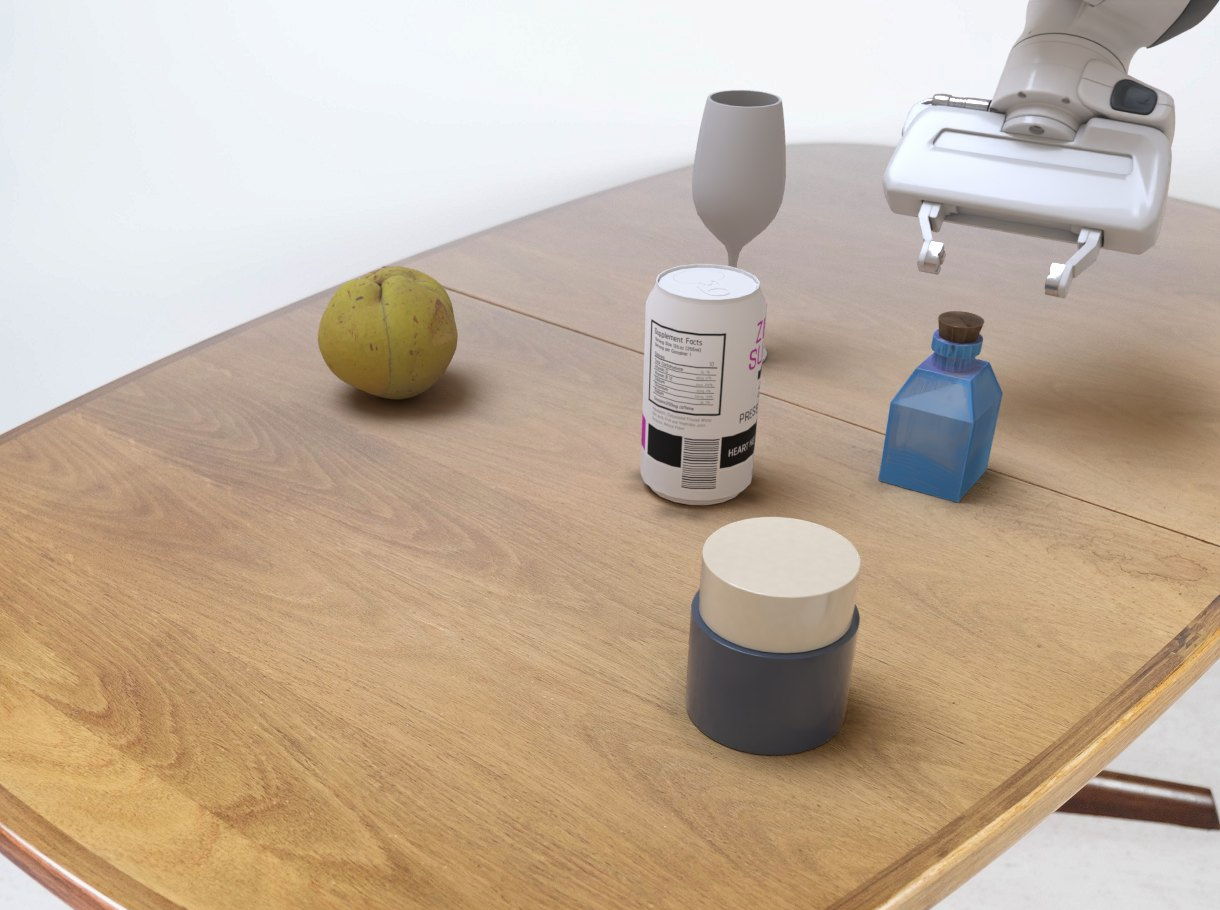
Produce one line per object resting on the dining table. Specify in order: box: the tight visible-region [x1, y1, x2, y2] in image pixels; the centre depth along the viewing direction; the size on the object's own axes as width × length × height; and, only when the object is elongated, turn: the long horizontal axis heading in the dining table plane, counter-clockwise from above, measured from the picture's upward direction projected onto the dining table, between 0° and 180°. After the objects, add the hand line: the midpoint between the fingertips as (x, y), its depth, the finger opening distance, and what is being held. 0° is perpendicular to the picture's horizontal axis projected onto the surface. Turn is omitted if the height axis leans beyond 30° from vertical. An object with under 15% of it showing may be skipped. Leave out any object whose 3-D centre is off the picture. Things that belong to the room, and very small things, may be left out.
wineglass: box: [691, 89, 787, 363], centre depth 112 cm, size 8×8×21 cm
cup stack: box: [684, 516, 862, 756], centre depth 74 cm, size 9×9×10 cm
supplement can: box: [640, 263, 768, 506], centre depth 94 cm, size 8×8×15 cm
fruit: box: [317, 266, 459, 400], centre depth 107 cm, size 11×12×10 cm
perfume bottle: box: [878, 310, 1003, 503], centre depth 96 cm, size 6×6×12 cm
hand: (989, 281), depth 97 cm, fingers open, 8 cm apart
